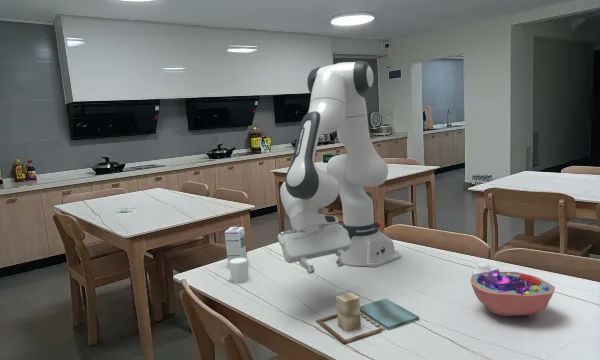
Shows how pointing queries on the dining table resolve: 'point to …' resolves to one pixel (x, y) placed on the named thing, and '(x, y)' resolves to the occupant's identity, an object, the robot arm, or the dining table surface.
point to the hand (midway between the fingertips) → (326, 269)
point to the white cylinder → (239, 269)
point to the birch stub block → (348, 311)
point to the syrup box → (235, 243)
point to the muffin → (481, 268)
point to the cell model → (512, 292)
